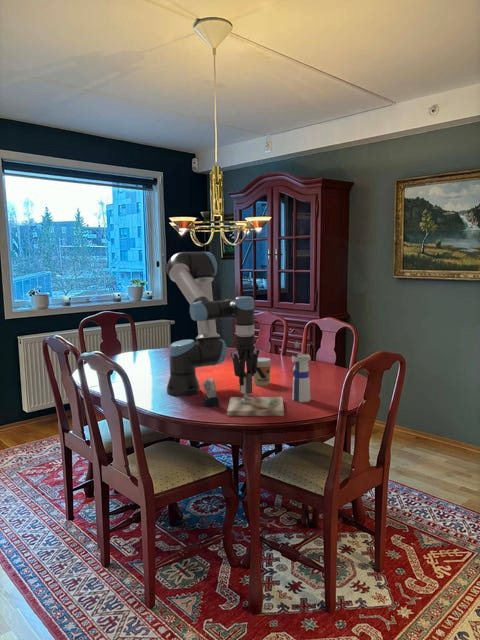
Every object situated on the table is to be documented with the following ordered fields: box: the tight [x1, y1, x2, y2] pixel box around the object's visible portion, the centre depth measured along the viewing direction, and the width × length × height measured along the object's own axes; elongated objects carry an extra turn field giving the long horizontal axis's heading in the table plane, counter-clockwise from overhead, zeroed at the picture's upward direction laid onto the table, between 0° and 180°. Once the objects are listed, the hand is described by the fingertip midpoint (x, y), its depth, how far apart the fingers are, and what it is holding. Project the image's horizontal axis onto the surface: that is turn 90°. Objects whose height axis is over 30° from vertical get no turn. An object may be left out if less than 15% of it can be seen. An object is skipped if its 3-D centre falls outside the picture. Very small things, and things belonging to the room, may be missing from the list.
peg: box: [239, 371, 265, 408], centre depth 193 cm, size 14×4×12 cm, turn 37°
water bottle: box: [291, 340, 312, 403], centre depth 206 cm, size 8×9×25 cm
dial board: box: [226, 396, 285, 417], centre depth 197 cm, size 22×18×2 cm
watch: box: [202, 378, 220, 408], centre depth 202 cm, size 6×8×11 cm
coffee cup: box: [252, 357, 272, 387], centre depth 233 cm, size 9×9×12 cm
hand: (246, 392), depth 197 cm, fingers closed on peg, 2 cm apart
